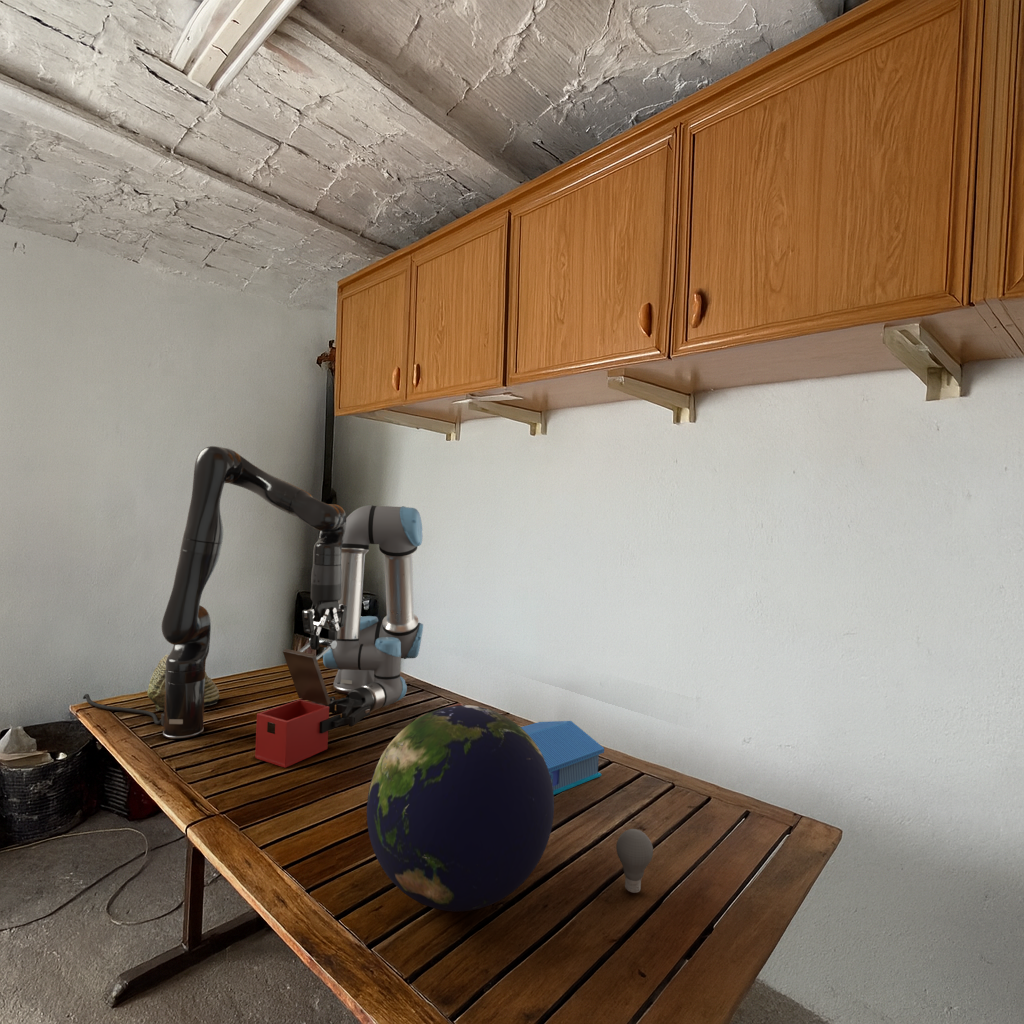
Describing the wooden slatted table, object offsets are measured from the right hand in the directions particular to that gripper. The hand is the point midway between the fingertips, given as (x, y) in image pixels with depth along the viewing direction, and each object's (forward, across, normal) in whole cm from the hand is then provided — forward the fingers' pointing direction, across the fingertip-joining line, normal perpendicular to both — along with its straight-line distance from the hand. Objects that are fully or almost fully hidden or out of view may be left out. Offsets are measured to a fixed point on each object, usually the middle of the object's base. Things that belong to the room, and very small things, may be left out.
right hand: (304, 723), depth 158 cm
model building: (-11, -54, -6) cm, 55 cm away
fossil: (-3, +51, -6) cm, 52 cm away
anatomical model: (-36, -17, -6) cm, 40 cm away
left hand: (-6, 0, +18) cm, 19 cm away
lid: (0, 0, +11) cm, 11 cm away
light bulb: (+13, -89, -6) cm, 90 cm away
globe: (+29, -64, -6) cm, 71 cm away
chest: (+4, 0, -6) cm, 7 cm away
